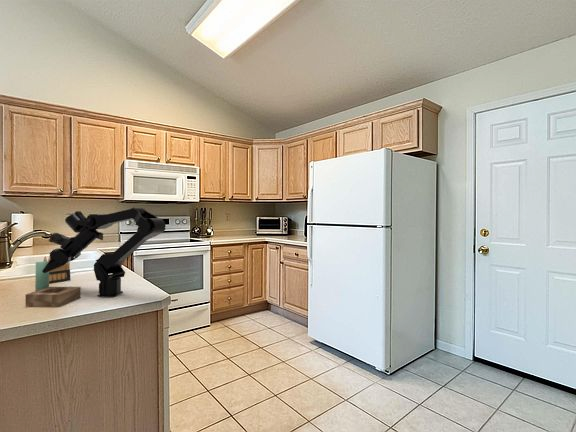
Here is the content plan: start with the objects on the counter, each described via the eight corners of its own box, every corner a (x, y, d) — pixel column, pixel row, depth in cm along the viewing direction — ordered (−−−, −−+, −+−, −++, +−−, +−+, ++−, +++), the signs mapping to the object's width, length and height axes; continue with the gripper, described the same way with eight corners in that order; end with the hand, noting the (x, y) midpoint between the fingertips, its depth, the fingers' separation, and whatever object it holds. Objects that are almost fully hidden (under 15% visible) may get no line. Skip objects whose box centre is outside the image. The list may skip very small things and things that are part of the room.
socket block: (80, 297, 115) (80, 286, 115) (59, 306, 104) (59, 294, 104) (49, 297, 115) (49, 286, 115) (25, 306, 104) (25, 294, 104)
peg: (51, 294, 119) (51, 261, 119) (43, 297, 115) (44, 263, 115) (40, 294, 119) (41, 261, 119) (32, 297, 115) (32, 262, 115)
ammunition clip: (43, 284, 134) (43, 256, 133) (41, 284, 134) (41, 256, 134) (70, 280, 143) (70, 254, 143) (68, 279, 144) (68, 253, 144)
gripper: (71, 224, 128) (38, 252, 124) (57, 226, 111) (17, 259, 107) (93, 243, 131) (62, 271, 127) (82, 248, 114) (45, 280, 110)
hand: (47, 270), depth 118 cm, fingers open, 9 cm apart
